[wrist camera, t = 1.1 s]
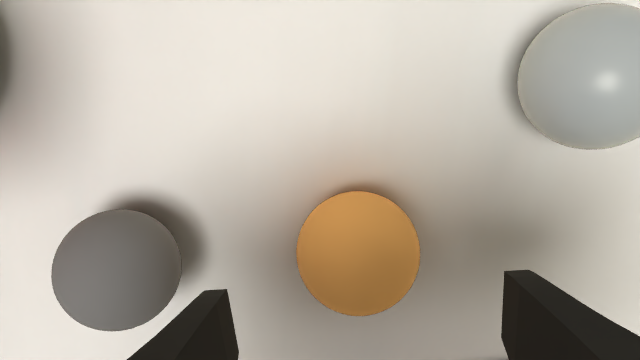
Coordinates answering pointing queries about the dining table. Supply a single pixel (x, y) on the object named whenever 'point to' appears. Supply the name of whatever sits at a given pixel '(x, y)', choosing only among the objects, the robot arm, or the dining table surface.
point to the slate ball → (585, 77)
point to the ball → (358, 253)
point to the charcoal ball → (116, 270)
